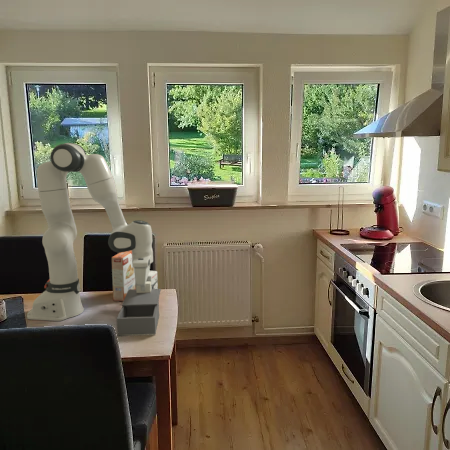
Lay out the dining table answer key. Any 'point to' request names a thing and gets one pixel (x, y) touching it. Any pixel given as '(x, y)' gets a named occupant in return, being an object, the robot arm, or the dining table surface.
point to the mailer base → (138, 320)
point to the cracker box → (122, 275)
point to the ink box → (153, 279)
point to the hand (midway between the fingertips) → (143, 288)
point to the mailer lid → (142, 296)
